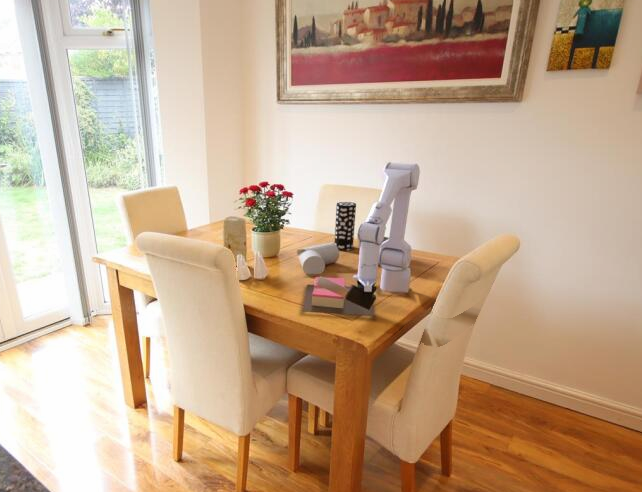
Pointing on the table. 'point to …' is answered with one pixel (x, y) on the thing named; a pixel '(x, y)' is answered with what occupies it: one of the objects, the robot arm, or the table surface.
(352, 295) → the grey and black bar
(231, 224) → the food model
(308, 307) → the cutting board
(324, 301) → the cake slice
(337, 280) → the cake
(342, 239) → the spotted tube
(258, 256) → the shaker set
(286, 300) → the table surface
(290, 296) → the table surface
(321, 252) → the bent grey cylinder
